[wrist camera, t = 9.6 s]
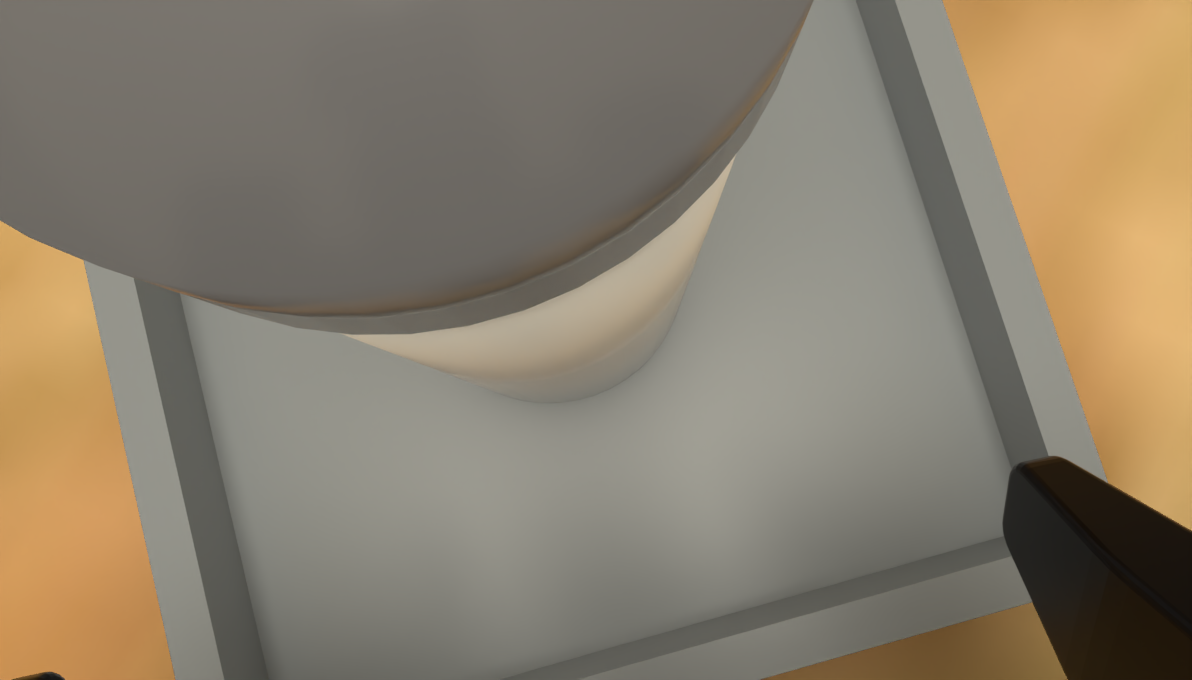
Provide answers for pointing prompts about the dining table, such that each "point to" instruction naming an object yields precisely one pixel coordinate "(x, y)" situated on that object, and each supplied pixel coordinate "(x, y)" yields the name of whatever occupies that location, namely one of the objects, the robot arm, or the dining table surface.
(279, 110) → the shaker
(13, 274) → the dining table surface
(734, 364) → the tray
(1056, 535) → the robot arm
